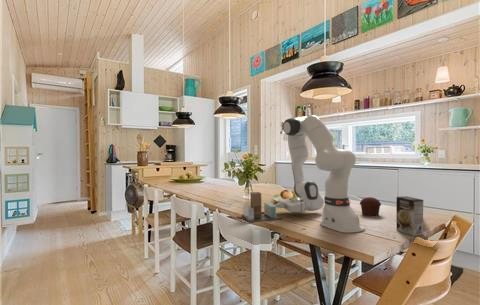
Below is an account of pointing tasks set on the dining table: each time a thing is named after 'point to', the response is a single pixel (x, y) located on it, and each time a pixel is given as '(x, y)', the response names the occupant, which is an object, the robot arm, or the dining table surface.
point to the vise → (249, 214)
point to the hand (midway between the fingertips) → (276, 205)
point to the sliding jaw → (270, 210)
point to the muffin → (370, 206)
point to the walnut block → (256, 203)
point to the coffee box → (410, 215)
